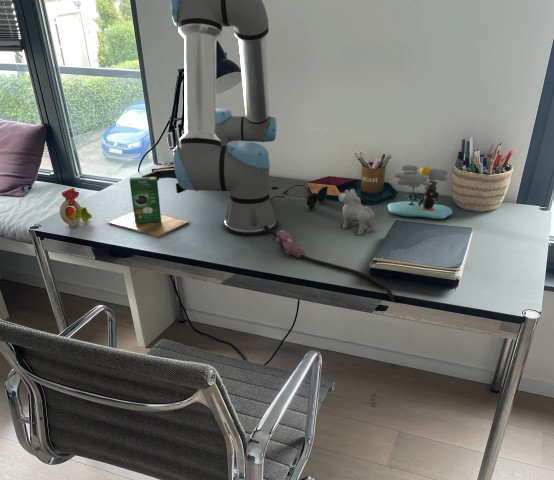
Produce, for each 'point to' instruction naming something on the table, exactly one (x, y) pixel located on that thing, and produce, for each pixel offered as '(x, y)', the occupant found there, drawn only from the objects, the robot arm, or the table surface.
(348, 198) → the dog figurine
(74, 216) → the bird rattle
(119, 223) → the wooden board
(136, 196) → the coffee box
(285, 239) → the pink animal figurine
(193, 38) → the robot arm
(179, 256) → the table surface
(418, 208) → the penguin figurine
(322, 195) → the sunglasses
